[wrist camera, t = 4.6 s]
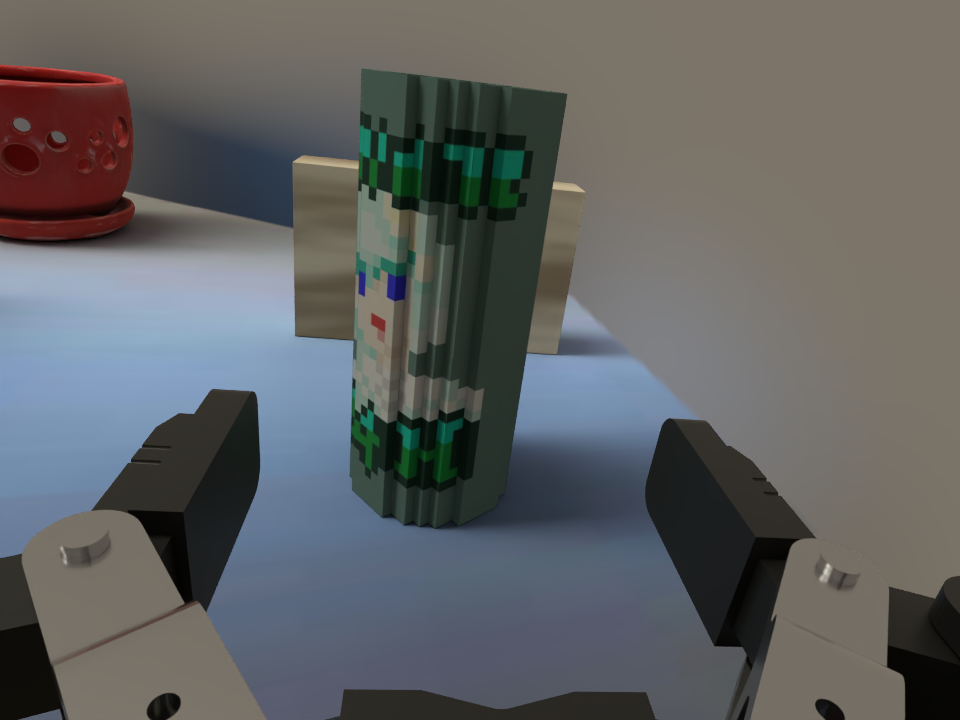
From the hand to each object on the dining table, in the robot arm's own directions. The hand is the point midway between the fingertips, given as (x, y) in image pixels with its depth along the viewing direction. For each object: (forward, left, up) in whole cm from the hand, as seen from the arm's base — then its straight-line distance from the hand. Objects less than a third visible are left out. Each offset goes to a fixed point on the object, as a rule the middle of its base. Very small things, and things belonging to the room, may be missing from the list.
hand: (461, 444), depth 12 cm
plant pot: (+43, +31, -9) cm, 54 cm away
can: (+11, 0, -9) cm, 14 cm away
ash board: (+26, 0, -9) cm, 27 cm away
